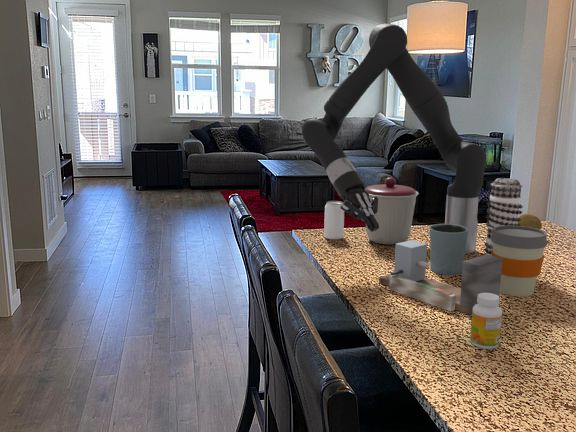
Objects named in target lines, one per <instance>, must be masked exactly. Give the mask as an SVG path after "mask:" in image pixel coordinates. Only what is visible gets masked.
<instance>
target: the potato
mask: <svg viewBox="0 0 576 432" xmlns="http://www.w3.org/2000/svg"><path fill="white" fill-rule="evenodd" d="M518 217H519V218H520V219H521V221H519V222H518V223H519V224H520V226H524V227H531V228H536V229H539V230H542V227H543V224H542V221H541V219H540V218H539V217H538V216H536V215H534V214H530V213H524V214H523V213H522V214H520V215H519V216H518Z"/></svg>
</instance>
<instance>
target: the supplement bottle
mask: <svg viewBox="0 0 576 432" xmlns="http://www.w3.org/2000/svg"><path fill="white" fill-rule="evenodd" d="M500 297H501V296H500V295H499V296H498V295H496V294H492V293H479V294H478V296H477V303H478V304H476V305H474V307H473V310H472V315H471V322H470V323H471V326H470V334H469V335H470V337H469V342H470V343H471V344H472V345H473V346H475V347H477V348H480V349H483V350H484V349H485V350H491V349H496V348H498V347H499V345H500V340H501V339H500V338H501V333H502V332H501V330H502V329H501V328H502V322H503V321H502V318H503V310H502V309H501V307H500V306H499V305H500Z"/></svg>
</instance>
